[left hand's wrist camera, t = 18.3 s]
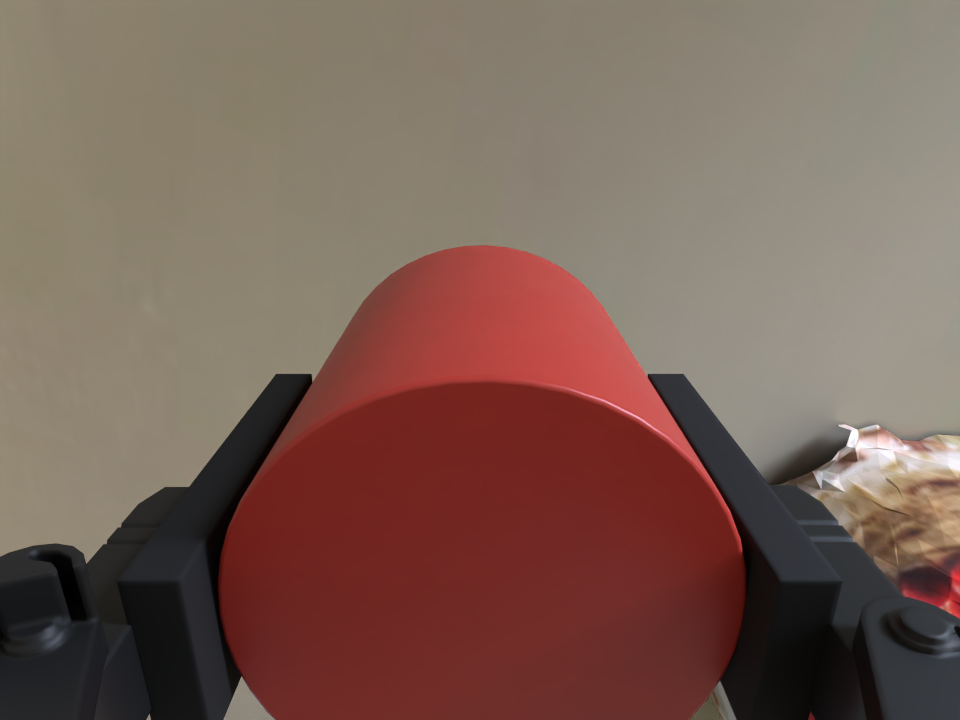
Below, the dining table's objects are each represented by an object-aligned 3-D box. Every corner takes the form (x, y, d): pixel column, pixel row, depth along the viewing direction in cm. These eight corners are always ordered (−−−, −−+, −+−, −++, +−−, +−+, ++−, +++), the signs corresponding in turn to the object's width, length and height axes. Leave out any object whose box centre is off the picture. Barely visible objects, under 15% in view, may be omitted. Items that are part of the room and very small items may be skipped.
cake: (1181, 598, 38) (1410, 762, 28) (810, 783, 44) (898, 967, 34) (1014, 311, 31) (1239, 400, 22) (607, 574, 37) (647, 731, 28)
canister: (678, 318, 16) (859, 506, 8) (546, 544, 18) (593, 851, 11) (399, 193, 15) (317, 279, 7) (299, 451, 17) (157, 719, 9)
